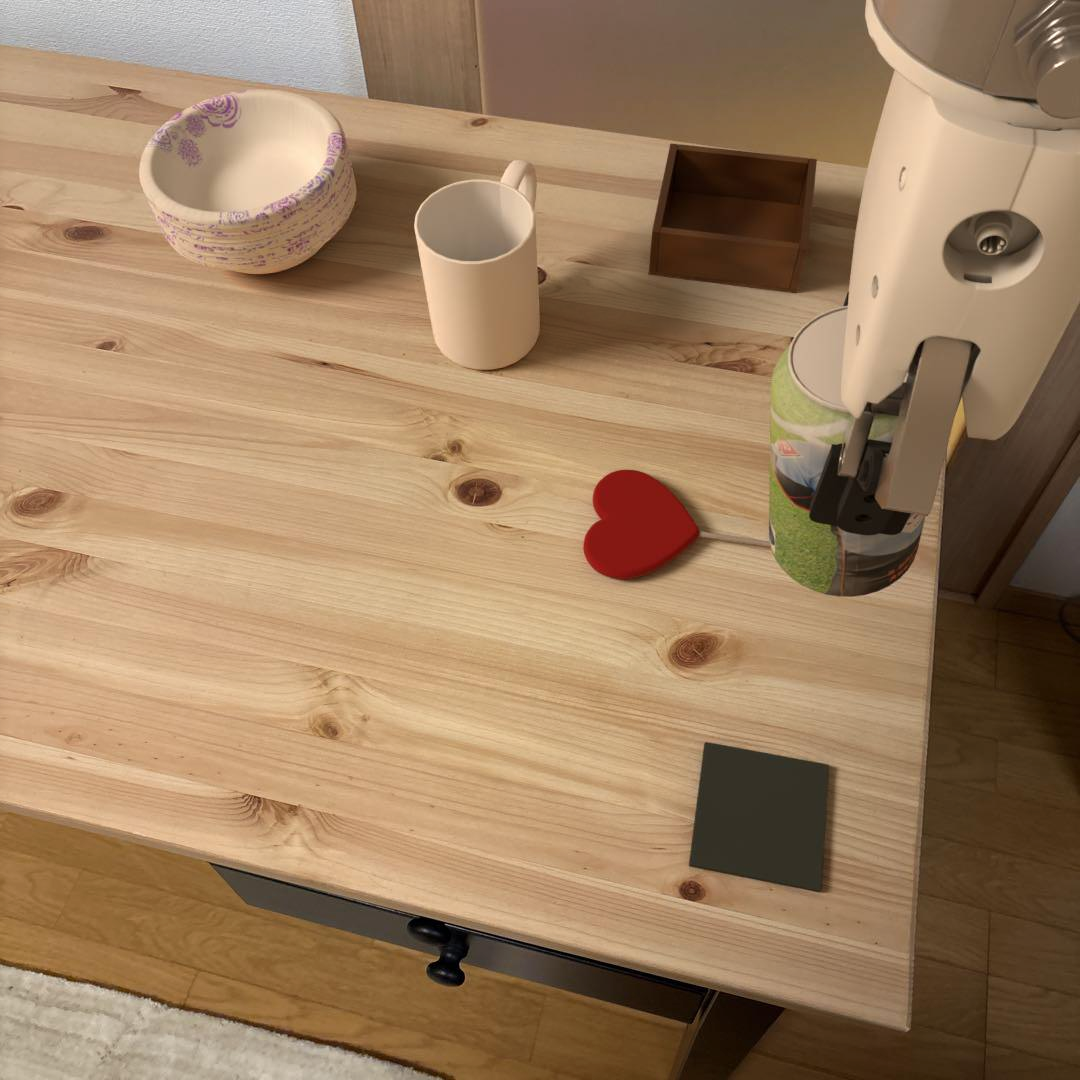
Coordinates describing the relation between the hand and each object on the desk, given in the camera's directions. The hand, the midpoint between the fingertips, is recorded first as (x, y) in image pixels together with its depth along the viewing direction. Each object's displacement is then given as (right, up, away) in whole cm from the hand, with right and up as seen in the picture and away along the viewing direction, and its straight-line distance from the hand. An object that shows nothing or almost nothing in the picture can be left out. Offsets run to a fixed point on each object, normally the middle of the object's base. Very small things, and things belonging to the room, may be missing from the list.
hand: (860, 443), depth 37 cm
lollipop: (-1, -4, +27) cm, 28 cm away
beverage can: (0, -4, +6) cm, 7 cm away
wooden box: (+3, +20, +41) cm, 46 cm away
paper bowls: (-33, +21, +43) cm, 58 cm away
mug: (-15, +13, +38) cm, 43 cm away
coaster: (0, -19, +18) cm, 26 cm away
